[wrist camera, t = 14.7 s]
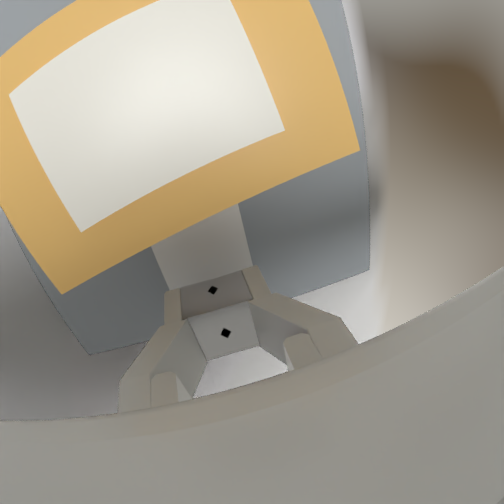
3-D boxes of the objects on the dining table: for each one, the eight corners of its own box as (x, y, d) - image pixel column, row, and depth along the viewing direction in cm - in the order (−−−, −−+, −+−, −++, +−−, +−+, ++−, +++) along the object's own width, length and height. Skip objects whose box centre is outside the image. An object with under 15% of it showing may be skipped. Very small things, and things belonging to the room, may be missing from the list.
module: (101, 216, 9) (58, 302, 5) (38, 96, 7) (-53, 105, 3) (285, 127, 9) (368, 153, 5) (231, -1, 7) (278, -72, 3)
